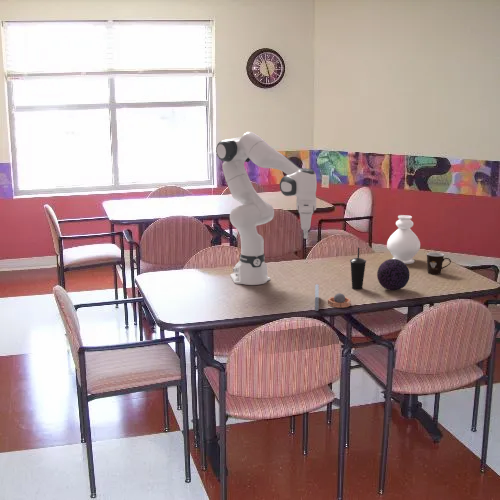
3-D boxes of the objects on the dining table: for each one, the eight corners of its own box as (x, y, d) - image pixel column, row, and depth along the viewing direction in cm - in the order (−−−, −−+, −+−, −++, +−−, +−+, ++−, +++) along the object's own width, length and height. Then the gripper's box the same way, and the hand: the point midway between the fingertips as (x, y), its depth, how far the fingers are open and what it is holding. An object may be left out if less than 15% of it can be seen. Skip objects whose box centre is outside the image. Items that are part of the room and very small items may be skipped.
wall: (315, 296, 323) (315, 284, 322) (318, 296, 323) (318, 284, 322) (314, 310, 304) (315, 297, 303) (318, 310, 304) (318, 297, 303)
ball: (331, 299, 313) (332, 293, 309) (341, 295, 314) (342, 289, 310) (336, 308, 311) (337, 302, 307) (346, 304, 312) (347, 298, 308)
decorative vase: (382, 257, 396) (384, 213, 390) (414, 256, 397) (416, 213, 391) (390, 265, 378) (393, 219, 373) (423, 264, 379) (426, 219, 374)
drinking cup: (357, 291, 332) (358, 250, 327) (345, 287, 338) (347, 247, 333) (368, 288, 336) (370, 247, 331) (357, 285, 342) (358, 245, 337)
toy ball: (371, 286, 339) (372, 256, 335) (399, 284, 343) (401, 254, 339) (385, 295, 325) (386, 264, 321) (414, 293, 329) (416, 262, 325)
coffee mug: (422, 272, 364) (423, 253, 361) (432, 270, 369) (434, 251, 366) (440, 277, 355) (441, 258, 352) (451, 274, 360) (452, 255, 357)
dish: (324, 302, 315) (324, 298, 315) (343, 299, 319) (343, 295, 319) (334, 308, 306) (334, 304, 306) (354, 306, 310) (354, 301, 310)
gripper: (299, 201, 323) (299, 230, 326) (298, 209, 303) (298, 240, 306) (313, 201, 322) (313, 231, 325) (313, 209, 302) (312, 241, 306)
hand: (305, 235), depth 316 cm, fingers open, 8 cm apart
